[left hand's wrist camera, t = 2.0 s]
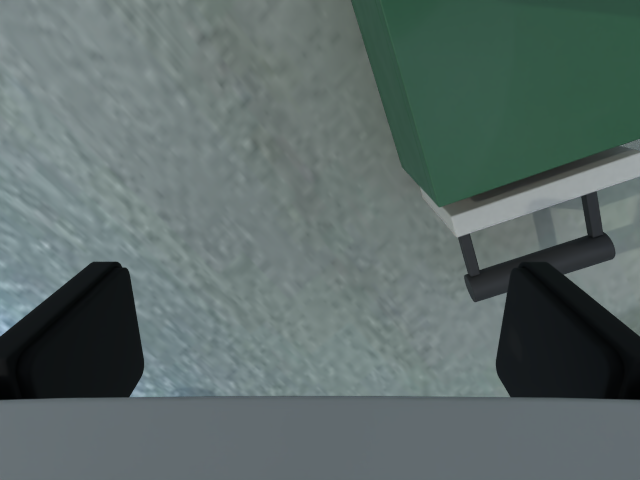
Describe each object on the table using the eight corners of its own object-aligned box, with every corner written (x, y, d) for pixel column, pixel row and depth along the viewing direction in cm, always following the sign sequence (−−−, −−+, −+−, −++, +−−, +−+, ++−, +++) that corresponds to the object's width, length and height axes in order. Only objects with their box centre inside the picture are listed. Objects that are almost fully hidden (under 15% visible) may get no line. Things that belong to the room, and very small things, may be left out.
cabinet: (558, 111, 28) (671, 128, 19) (402, 168, 30) (438, 208, 20) (510, -165, 23) (631, -318, 14) (325, -83, 25) (328, -177, 16)
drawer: (577, 230, 30) (658, 279, 23) (445, 273, 31) (483, 333, 24) (520, -93, 24) (608, -167, 16) (356, -24, 25) (371, -66, 18)
